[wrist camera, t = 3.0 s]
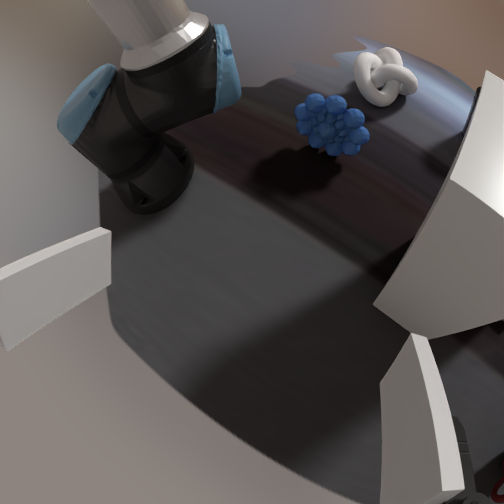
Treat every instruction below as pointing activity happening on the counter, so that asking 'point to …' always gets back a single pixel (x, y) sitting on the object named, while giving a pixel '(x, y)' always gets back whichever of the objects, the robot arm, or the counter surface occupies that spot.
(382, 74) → the white twisted tube knot
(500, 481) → the mug
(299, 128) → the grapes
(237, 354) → the counter surface
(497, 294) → the block
